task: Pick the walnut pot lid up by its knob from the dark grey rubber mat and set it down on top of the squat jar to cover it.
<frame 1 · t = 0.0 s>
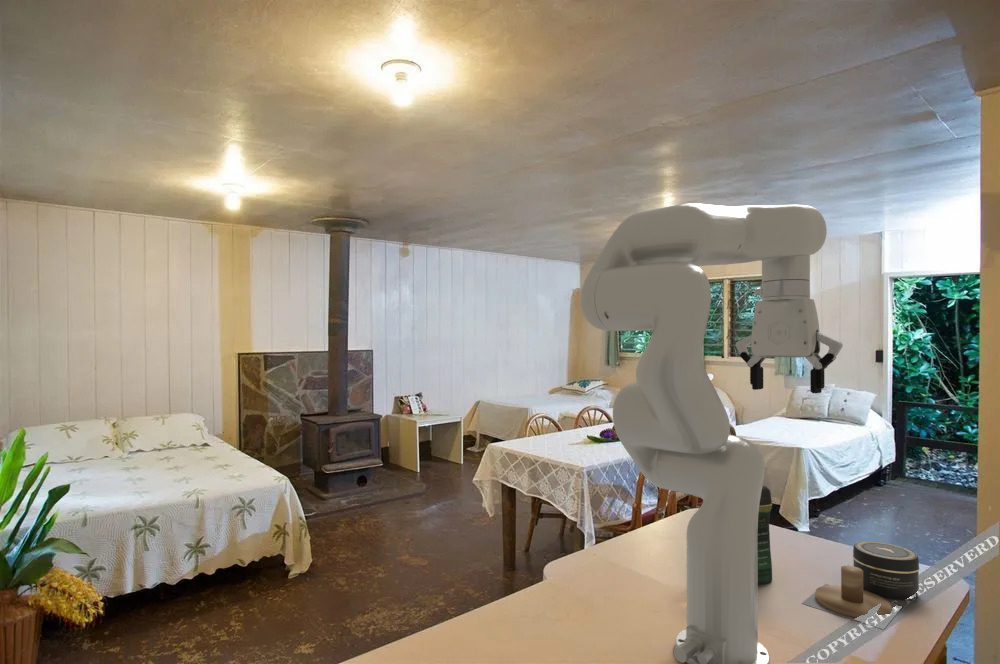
hand: (785, 391, 98), 37 cm above the counter, tool pointing down, fingers open, 9 cm apart
jar: (885, 593, 103), on the counter
lid: (852, 604, 96), point 1 cm above the counter, touching mat
mat: (852, 608, 96), on the counter
coffee jar: (744, 578, 109), on the counter
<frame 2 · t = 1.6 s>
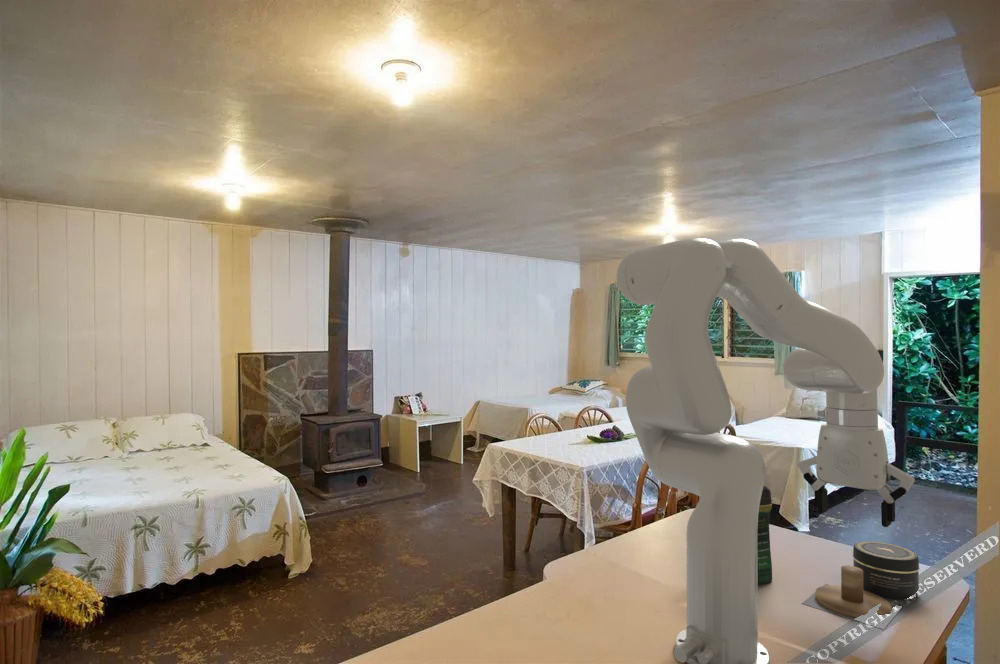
hand: (853, 518, 97), 15 cm above the counter, tool pointing down, fingers open, 9 cm apart
nothing on the counter moved.
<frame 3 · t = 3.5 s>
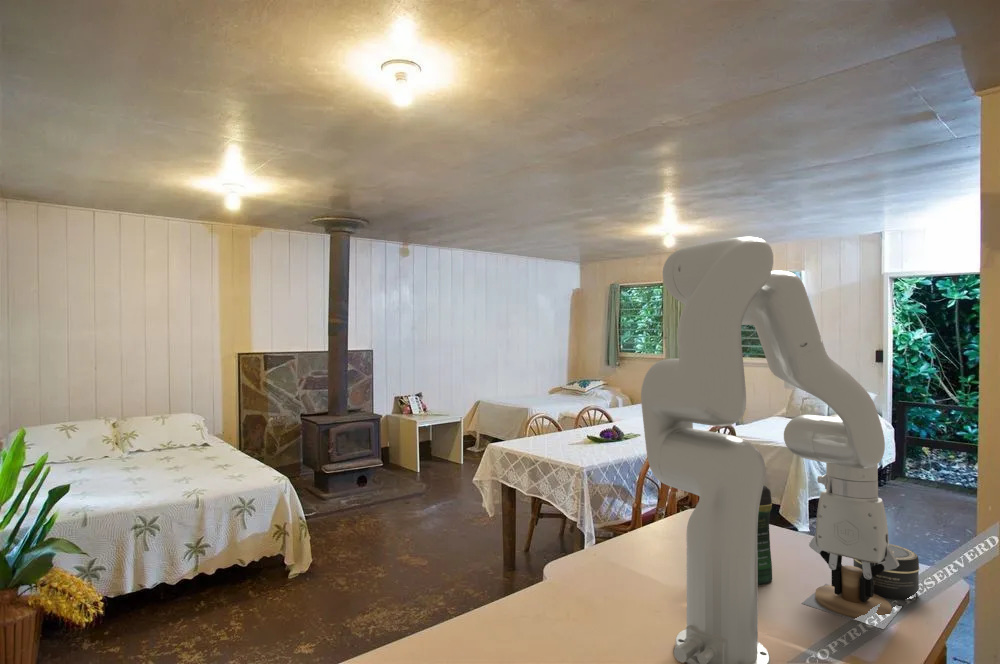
hand: (852, 594, 96), 2 cm above the counter, tool pointing down, fingers closed on lid, 3 cm apart
lid: (852, 604, 96), point 1 cm above the counter, touching gripper, mat
everything else where it was.
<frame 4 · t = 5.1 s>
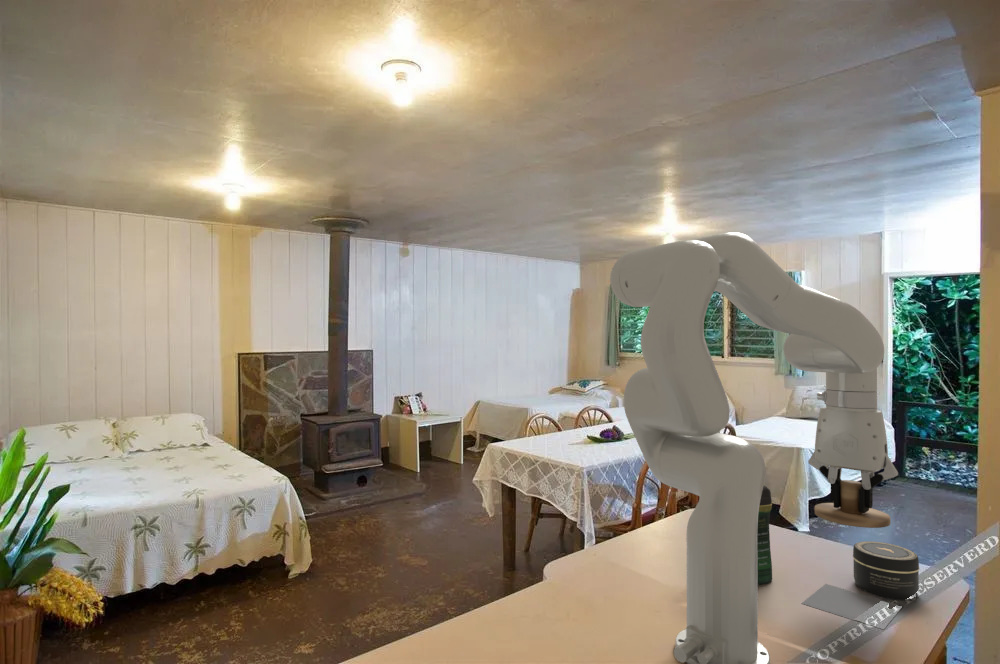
hand: (851, 507, 97), 17 cm above the counter, tool pointing down, fingers closed on lid, 3 cm apart
lid: (851, 517, 97), point 15 cm above the counter, touching gripper
everything else where it was.
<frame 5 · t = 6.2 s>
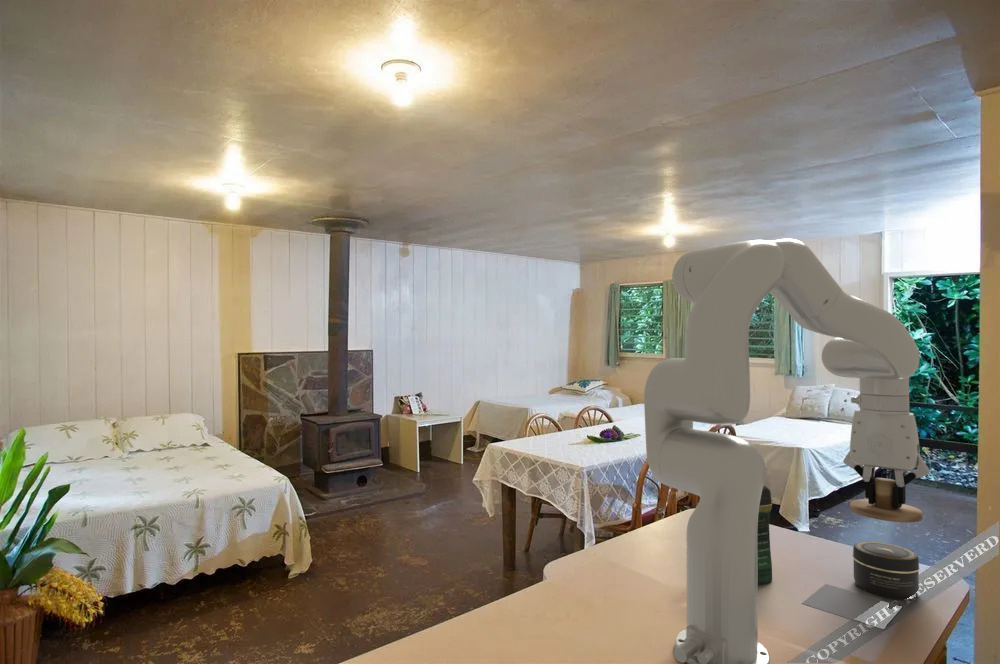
hand: (885, 504, 104), 16 cm above the counter, tool pointing down, fingers closed on lid, 3 cm apart
lid: (885, 512, 104), point 14 cm above the counter, touching gripper
everything else where it was.
when the fingers open (11 cm above the counter, at t = 7.2 s): lid drops 2 cm, resting on jar.
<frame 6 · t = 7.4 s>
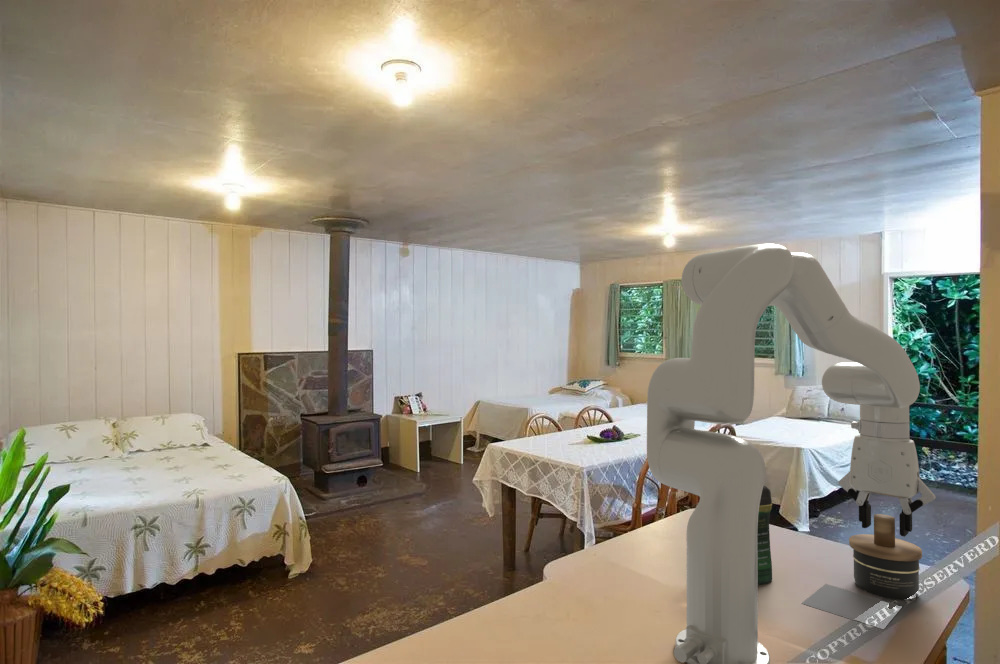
hand: (884, 529, 103), 11 cm above the counter, tool pointing down, fingers open, 5 cm apart
jar: (885, 593, 103), on the counter, touching lid
lid: (884, 549, 103), point 8 cm above the counter, touching jar
everything else where it was.
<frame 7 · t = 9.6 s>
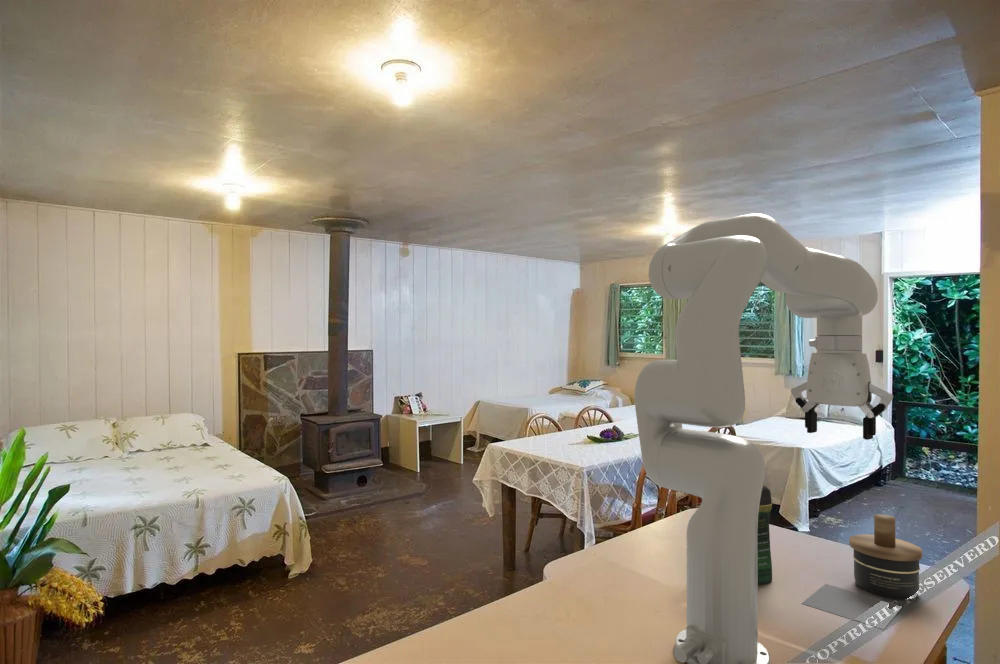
hand: (839, 435, 108), 28 cm above the counter, tool pointing down, fingers open, 9 cm apart
nothing on the counter moved.
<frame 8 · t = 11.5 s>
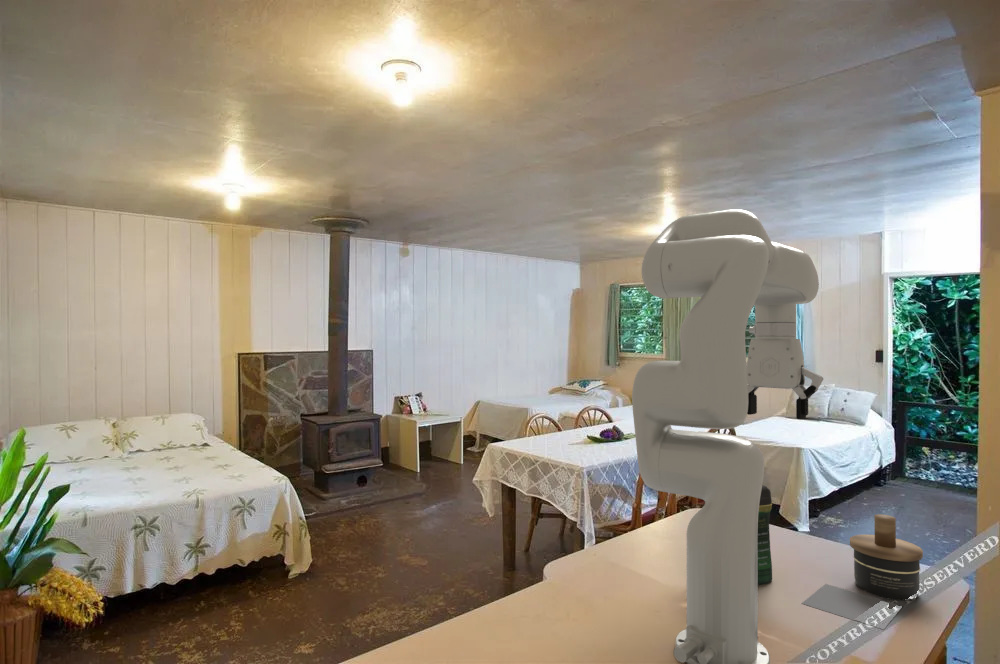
hand: (775, 416, 115), 30 cm above the counter, tool pointing down, fingers open, 9 cm apart
nothing on the counter moved.
at the end: lid inside the target area on the jar (0.1 cm from its centre), point 7.8 cm above the jar's base; lid tilted 0°; the gripper is holding nothing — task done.
